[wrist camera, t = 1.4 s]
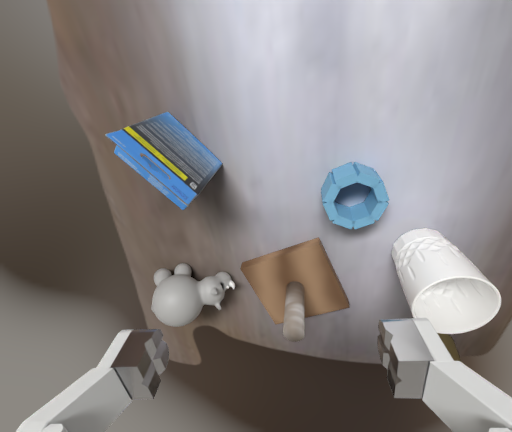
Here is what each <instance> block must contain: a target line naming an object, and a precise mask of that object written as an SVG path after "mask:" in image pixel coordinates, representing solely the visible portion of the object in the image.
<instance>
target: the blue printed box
mask: <svg viewBox="0 0 512 432" xmlns="http://www.w3.org/2000/svg"><path fill="white" fill-rule="evenodd" d="M105 136H106V137H107V138H109V139H110V140H111V141H112V142H114V143H115V144H116V148H115V151H114V153H115V154H116V155H117V156H119V157H120V158H121V159H122V160H123V161H124V162H126V163H127V164H128V165H129V166H131V167H132V168H133V169H134V170H135V171H137V172H138V173H139V174H140V175H141V176H143V177H144V178H145V179H146V180H147V181H149V182H150V183H151V184H152V185H153V186H155V187H156V188H157V189H158V190H159V191H161V192H162V193H163V194H164V195H165V196H166V197H168V198H169V199H170V200H171V201H172V202H174V203H175V204H176V205H177V206H178V207H180V208H181V209H182V210H184V209H185V208H186V207H187V206H189V205H190V204H191V203H192V202H193V201H194V199H195V198H196V197H197V196H198V195H199V194H200V193H201V191H202V190H203V189H204V187H205V186H206V185H207V183H208V182H209V181H210V180H211V178H212V177H213V176H214V175H215V173H216V172H217V171H218V170H219V168H220V167H221V166H222V163H221V162H220V161H219V160H218V159H217V158H216V157H215V156H214V155H213V154H212V153H211V152H210V151H209V150H208V149H207V148H206V147H205V146H204V145H203V144H202V143H201V142H200V141H199V140H198V139H196V138H195V137H194V136H193V135H192V134H191V133H190V132H189V131H188V130H187V129H186V128H185V127H184V126H183V125H182V124H180V123H179V122H178V121H177V120H176V119H175V118H174V117H173V116H172V115H171V114H170V113H168V112H166V113H163V114H160V115H157V116H155V117H152V118H149V119H147V120H144V121H141V122H139V123H136V124H134V125H131V126H128V127H126V128H123V129H121V130H120V131H116V132H113V133H108V134H105Z"/></svg>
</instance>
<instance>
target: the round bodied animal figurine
mask: <svg viewBox="0 0 512 432" xmlns="http://www.w3.org/2000/svg"><path fill="white" fill-rule="evenodd" d="M191 273H192V270H191V267H190V266H189V265H188V264H185V263H181V264H179V265H177V266H176V268H175V270H174V275H173V276H172V274H171V272H170V271H169V270H168V269H165V268H162V269H159V270H157V271H156V272H155V274H154V282H155V284H156V286H157V288H156V290H155V292H154V294H153V299H152V307H151V310H152V311H153V312H154V313H155V315H156V316H157V318H158V319H159V320H160V321H161V322H163V323H164V324H166V325H169V326H174V327H178V326H184V325H186V324H189V323H190V322H192V321H193V320H194V319H195V318H196V317H197V316H198V315H199V314H200V312H201V310H202V307H203V305H205V304H206V305H215V306H216V308H217V309H218V310H221V306H220V302H221V301H222V300H223V299H224V295H225V291H226V290H227V289H229V287H232V288H233V290H234V288H235V284H234V282H233V281H232V279H231V277H230V275H229V274H228V273H226V272H219V273H217V274H216V275H215V276H208V277H205V278H204V279H203V280H201V281H197V280H195V279H194V278H192V277H191Z"/></svg>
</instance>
